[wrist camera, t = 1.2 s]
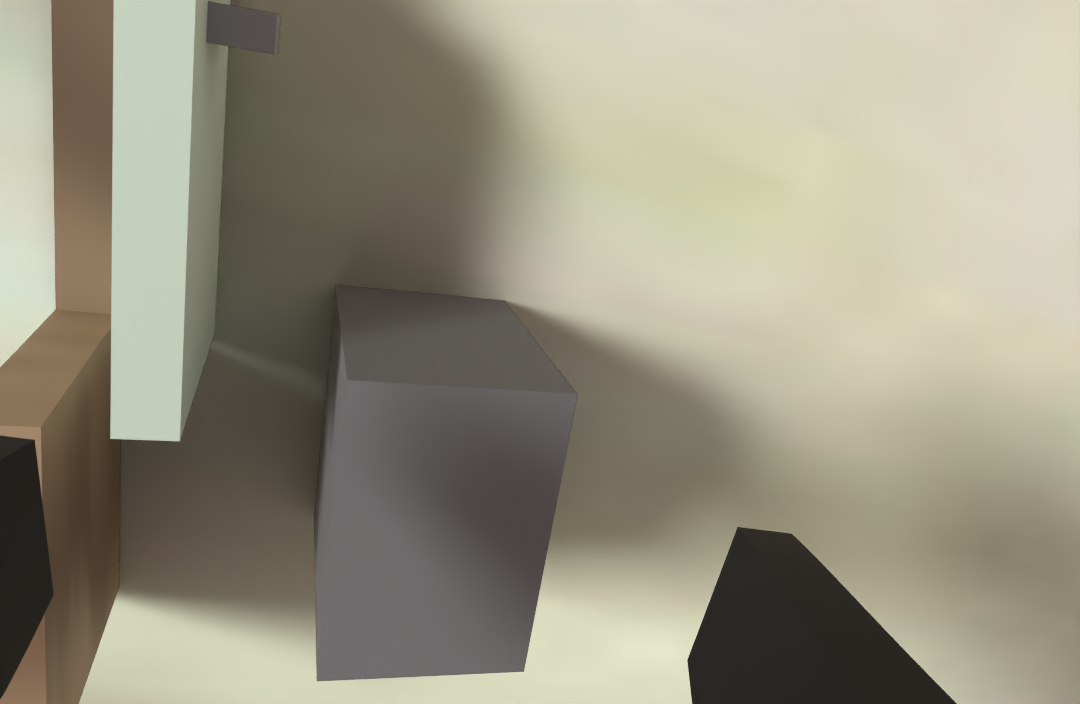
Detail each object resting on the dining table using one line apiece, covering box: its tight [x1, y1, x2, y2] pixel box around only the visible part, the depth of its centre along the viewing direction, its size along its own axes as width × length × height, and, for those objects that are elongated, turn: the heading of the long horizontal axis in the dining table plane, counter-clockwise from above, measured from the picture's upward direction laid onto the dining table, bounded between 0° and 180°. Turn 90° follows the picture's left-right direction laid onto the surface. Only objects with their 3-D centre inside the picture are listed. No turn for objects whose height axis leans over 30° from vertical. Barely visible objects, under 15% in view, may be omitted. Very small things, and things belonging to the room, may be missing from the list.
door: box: [110, 0, 281, 441], centre depth 14 cm, size 8×2×6 cm, turn 170°
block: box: [314, 285, 577, 681], centre depth 18 cm, size 6×4×6 cm, turn 170°
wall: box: [0, 0, 121, 704], centre depth 14 cm, size 16×1×6 cm, turn 170°
